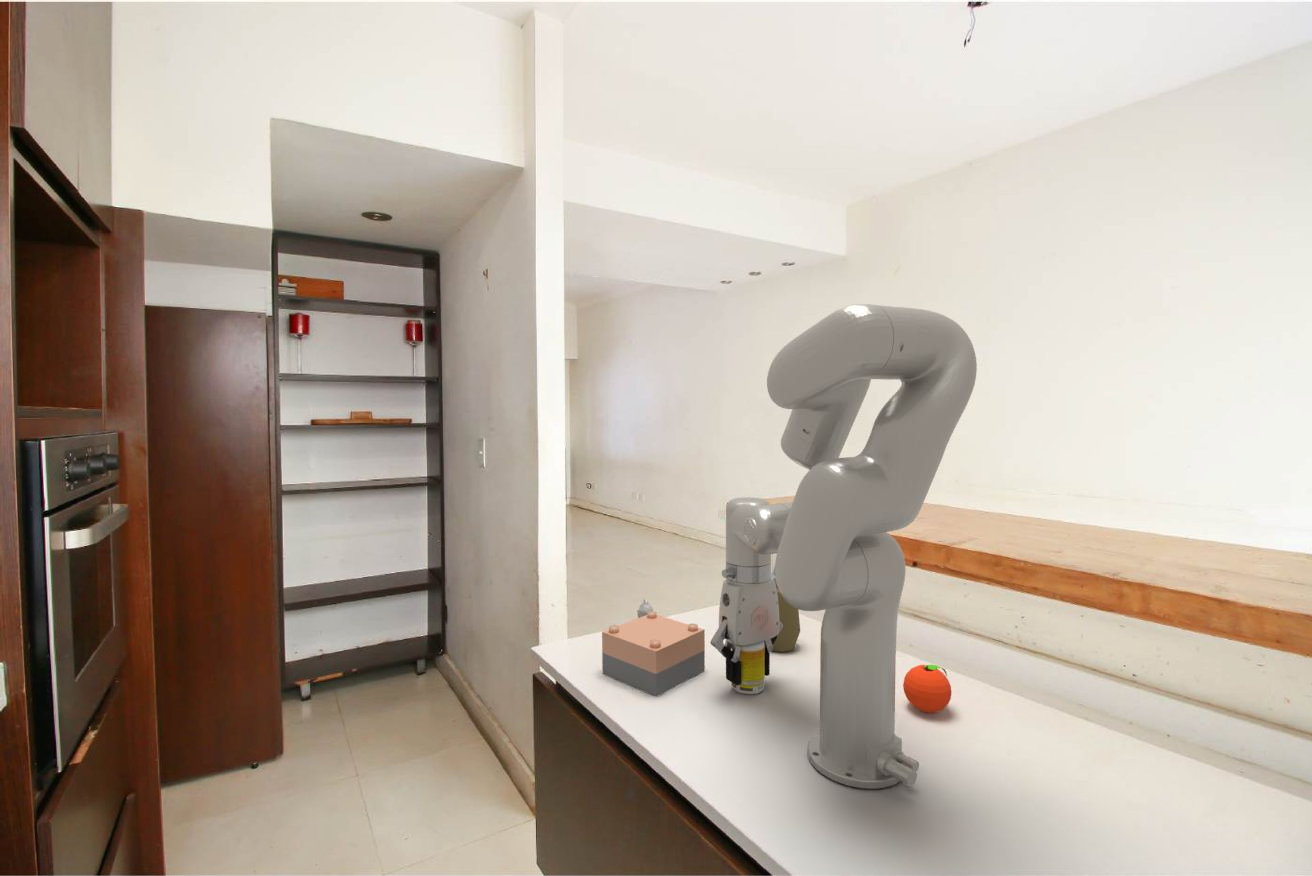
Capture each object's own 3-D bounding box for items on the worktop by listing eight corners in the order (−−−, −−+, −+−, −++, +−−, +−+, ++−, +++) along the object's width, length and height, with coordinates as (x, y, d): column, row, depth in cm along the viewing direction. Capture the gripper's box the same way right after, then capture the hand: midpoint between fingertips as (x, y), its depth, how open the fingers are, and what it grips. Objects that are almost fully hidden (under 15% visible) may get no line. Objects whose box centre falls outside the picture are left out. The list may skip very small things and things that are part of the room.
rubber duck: (644, 629, 130) (644, 592, 130) (667, 636, 126) (667, 598, 126) (626, 636, 126) (626, 598, 126) (650, 644, 122) (650, 605, 122)
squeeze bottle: (750, 643, 122) (750, 555, 121) (782, 636, 126) (782, 550, 125) (776, 658, 115) (776, 564, 114) (809, 649, 119) (809, 559, 118)
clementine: (927, 694, 101) (928, 652, 100) (965, 713, 94) (966, 668, 94) (893, 705, 97) (893, 661, 97) (930, 725, 91) (931, 679, 90)
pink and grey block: (704, 670, 110) (704, 625, 109) (656, 696, 100) (656, 646, 100) (651, 651, 119) (651, 609, 118) (602, 673, 109) (602, 627, 108)
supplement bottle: (771, 689, 103) (771, 629, 102) (749, 699, 99) (749, 637, 99) (746, 677, 107) (746, 620, 106) (724, 687, 103) (724, 628, 103)
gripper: (722, 586, 94) (722, 699, 95) (801, 569, 103) (800, 673, 104) (693, 574, 100) (693, 681, 101) (770, 559, 110) (769, 658, 111)
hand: (747, 676), depth 103 cm, fingers closed on supplement bottle, 5 cm apart
